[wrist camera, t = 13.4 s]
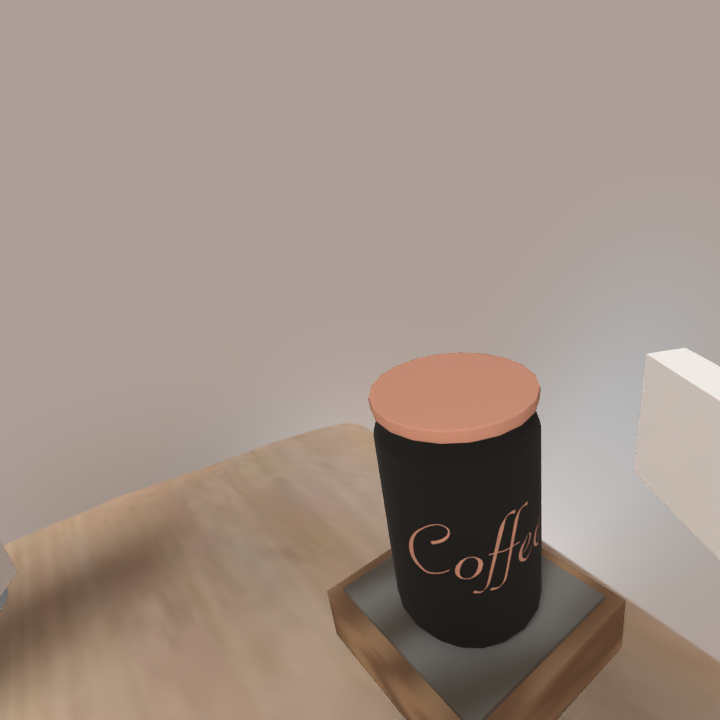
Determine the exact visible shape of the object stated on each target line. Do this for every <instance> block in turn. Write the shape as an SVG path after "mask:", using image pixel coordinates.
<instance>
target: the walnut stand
mask: <svg viewBox="0 0 720 720" xmlns="http://www.w3.org/2000/svg"><path fill="white" fill-rule="evenodd" d="M541 559H542V591H541V596H540V602H539V608H538V610H537V611H536V613H535V614H534V616H533V617H532V619H531V620H530V622H529V623H528V625H527V626H526V627H525V628H524V629H523V630H522V631H520V632H519V633H517V634H516V635H514V636H513V637H511V638H510V639H508V640H507V641H505V642H503V643H500V644H496V645H493V646H489V647H486V648H461V647H458V646H455V645H452V644H448V643H445V642H442V641H440V640H438V639H436V638H435V637H433V636H432V635H430V634H429V633H428V632H426V631H425V630H423V629H422V628H420V627H419V626H418V625H417V624H416V623H415V621H414V620H413V619H412V618H411V616H410V615H409V614H408V613H407V611H406V610H405V609H404V607H403V604H402V601H401V598H400V595H399V592H398V588H397V581H396V575H395V569H394V562H393V556H392V549H390V550H388V551H387V552H385V553H384V554H382V555H381V556H379V557H378V558H376V559H375V560H373V561H372V562H370V563H369V564H367V565H366V566H364V567H363V568H361V569H360V570H358V571H357V572H356V573H354V574H353V575H351V576H350V577H348V578H347V579H345V580H344V581H342V582H341V583H339V584H338V585H336V586H335V587H333V588H332V589H330V590H329V591H327V592H328V597H329V601H330V605H331V610H332V614H333V619H334V623H335V627H336V632H337V634H338V636H339V637H340V638H341V639H342V641H343V642H344V643H345V644H346V646H347V647H348V648H349V649H350V650H351V652H352V653H353V654H354V655H355V657H356V658H357V659H358V660H359V662H360V663H361V664H362V665H363V666H364V668H365V669H366V670H367V671H368V673H369V674H370V675H371V676H372V678H373V679H374V680H375V681H376V683H377V684H378V685H379V686H380V687H381V689H382V690H383V691H384V692H385V694H386V695H387V696H388V697H389V699H390V700H391V701H392V702H393V704H394V705H395V706H396V707H397V708H398V710H399V711H400V712H401V713H402V715H403V716H404V717H405V718H406V720H557V719H558V718H559V716H560V715H561V714H562V713H563V712H564V711H565V710H566V709H567V708H568V706H569V705H570V704H571V703H572V702H573V701H574V700H575V699H576V697H577V696H578V695H579V694H580V693H581V692H582V691H583V690H584V689H585V687H586V686H587V685H588V684H589V683H590V682H591V681H592V680H593V678H594V677H595V676H596V675H597V674H598V673H599V672H600V671H601V670H602V668H603V667H604V666H605V665H606V664H607V663H608V662H609V661H610V659H611V658H612V657H613V656H614V655H615V654H616V653H617V652H618V651H619V649H620V648H621V645H622V633H623V622H624V610H625V600H624V599H622V598H621V597H619V596H617V595H616V594H614V593H613V592H611V591H609V590H608V589H606V588H605V587H603V586H601V585H600V584H598V583H597V582H595V581H593V580H592V579H590V578H589V577H587V576H585V575H584V574H582V573H581V572H579V571H577V570H576V569H574V568H573V567H571V566H569V565H568V564H566V563H565V562H563V561H561V560H560V559H558V558H557V557H555V556H553V555H552V554H550V553H549V552H547V551H545V550H544V549H542V548H541Z"/></svg>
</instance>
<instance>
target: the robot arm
mask: <svg viewBox="0 0 720 720" xmlns="http://www.w3.org/2000/svg"><path fill="white" fill-rule="evenodd" d="M634 472H635V473H636V474H637V475H638V476H639V477H640V478H641V479H642V480H643V482H644V483H646V485H648V487H649V488H650V489H651V490H652V491H653V492H654V493H655V494H656V495H657V496H658V497H659V498H660V499H661V500H662V501H663V502H664V503H665V504H666V505H667V506H668V507H669V508H670V509H671V510H672V512H674V514H675V515H676V516H677V517H678V518H679V519H680V520H681V521H682V522H683V523H684V524H685V525H686V526H687V527H688V528H689V529H690V530H691V531H692V532H693V533H694V534H695V535H696V536H697V537H698V538H699V539H700V540H701V542H703V543H704V545H705V546H706V547H707V548H708V549H709V550H710V551H711V552H712V553H713V554H714V555H715V556H716V557H717V558H718V559H719V560H720V367H719V366H717V365H716V364H714V363H712V362H710V361H708V360H707V359H705V358H703V357H701V356H699V355H697V354H696V353H694V352H692V351H690V350H689V349H687V348H681V349H674V350H668V351H662V352H656V353H649V354H646V362H645V372H644V381H643V391H642V401H641V410H640V420H639V429H638V439H637V448H636V458H635V467H634ZM16 573H17V570H16V568H15V566H14V564H13V563H12V561H11V559H10V557H9V555H8V554H7V552H6V550H5V548H4V546H3V544H2V543H1V541H0V611H1V609H2V608H3V607H4V605H5V603H6V601H7V597H8V589H7V586H8V585H9V583H10V582H11V580H12V579H13V577H14V576H15V575H16Z"/></svg>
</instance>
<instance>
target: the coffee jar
mask: <svg viewBox="0 0 720 720" xmlns="http://www.w3.org/2000/svg"><path fill="white" fill-rule="evenodd" d="M540 389H541V388H540V386H539V383H538V381H537V378H536V376H535V374H534V373H532V372H531V371H530V370H528V369H527V368H526V367H525V366H523V365H522V364H519V363H517V362H514V361H512V360H509V359H506V358H504V357H498V356H493V355H488V354H480V353H449V354H438V355H433V356H427V357H423V358H418V359H414V360H411V361H409V362H406V363H403V364H401V365H398V366H396V367H394V368H392V369H391V370H389V371H387V372H386V373H384V374H382V375H381V376H380V377H379V378H378V379H377V381H376V382H375V383H374V384H373V385H372V386H371V390H370V394H369V399H368V400H369V404H370V408H371V411H372V413H373V415H374V417H375V420H376V423H375V427H374V441H375V447H376V454H377V460H378V466H379V473H380V479H381V486H382V492H383V498H384V505H385V511H386V518H387V524H388V530H389V537H390V543H391V549H392V556H393V562H394V569H395V575H396V581H397V588H398V592H399V595H400V598H401V601H402V604H403V607H404V609H405V610H406V611H407V613H408V614H409V615H410V616H411V618H412V619H413V620H414V621H415V623H416V624H417V625H418V626H419V627H420V628H422V629H423V630H425V631H426V632H428V633H429V634H430V635H432V636H433V637H435V638H436V639H438V640H440V641H442V642H445V643H448V644H452V645H455V646H458V647H461V648H486V647H489V646H493V645H496V644H500V643H503V642H505V641H507V640H508V639H510V638H511V637H513V636H514V635H516V634H517V633H519V632H520V631H522V630H523V629H524V628H525V627H526V626H527V625H528V623H529V622H530V620H531V619H532V617H533V616H534V614H535V613H536V611H537V610H538V608H539V602H540V596H541V591H542V559H541V424H540V420H539V418H538V415H537V412H536V409H537V405H538V402H539V398H540Z"/></svg>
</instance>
